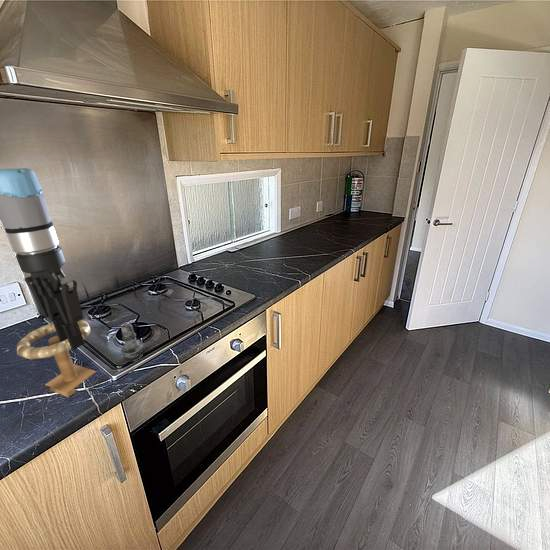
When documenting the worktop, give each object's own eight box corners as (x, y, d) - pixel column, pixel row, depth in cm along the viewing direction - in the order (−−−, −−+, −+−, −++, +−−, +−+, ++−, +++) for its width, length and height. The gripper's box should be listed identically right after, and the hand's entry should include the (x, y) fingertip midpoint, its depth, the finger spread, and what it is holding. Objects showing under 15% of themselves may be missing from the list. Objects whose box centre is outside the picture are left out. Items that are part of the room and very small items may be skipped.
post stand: (46, 389, 74) (27, 345, 68) (76, 368, 81) (60, 327, 75) (68, 397, 71) (49, 352, 66) (97, 375, 78) (82, 332, 72)
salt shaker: (138, 348, 88) (129, 314, 83) (150, 355, 85) (141, 320, 80) (119, 359, 83) (108, 323, 79) (130, 367, 80) (120, 330, 76)
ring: (4, 354, 67) (0, 345, 66) (65, 322, 79) (62, 314, 79) (45, 366, 62) (41, 357, 61) (104, 330, 74) (101, 322, 73)
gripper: (82, 246, 60) (111, 342, 69) (33, 241, 65) (66, 330, 74) (44, 259, 53) (81, 362, 63) (-7, 251, 59) (35, 347, 68)
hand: (73, 344), depth 68 cm, fingers closed on ring, 2 cm apart
